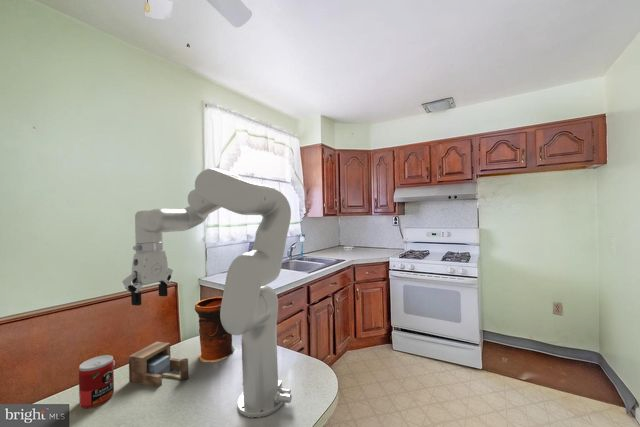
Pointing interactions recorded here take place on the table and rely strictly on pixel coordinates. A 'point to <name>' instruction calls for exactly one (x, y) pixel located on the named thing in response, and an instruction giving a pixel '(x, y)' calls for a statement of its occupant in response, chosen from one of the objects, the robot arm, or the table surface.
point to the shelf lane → (140, 364)
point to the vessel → (212, 331)
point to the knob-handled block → (167, 367)
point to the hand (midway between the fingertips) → (150, 300)
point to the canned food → (96, 381)
